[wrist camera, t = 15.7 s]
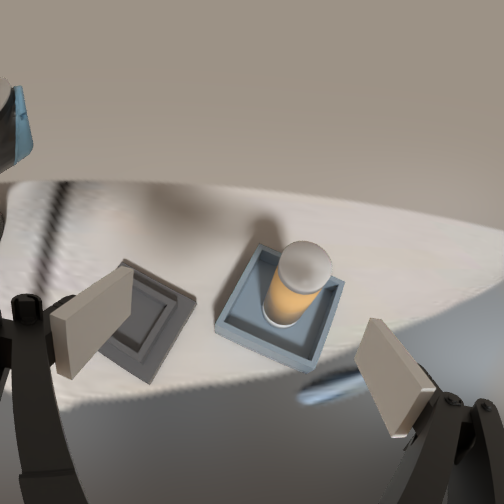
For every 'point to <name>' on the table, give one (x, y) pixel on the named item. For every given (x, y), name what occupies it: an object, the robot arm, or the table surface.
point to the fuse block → (148, 327)
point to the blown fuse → (296, 283)
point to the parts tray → (264, 335)
